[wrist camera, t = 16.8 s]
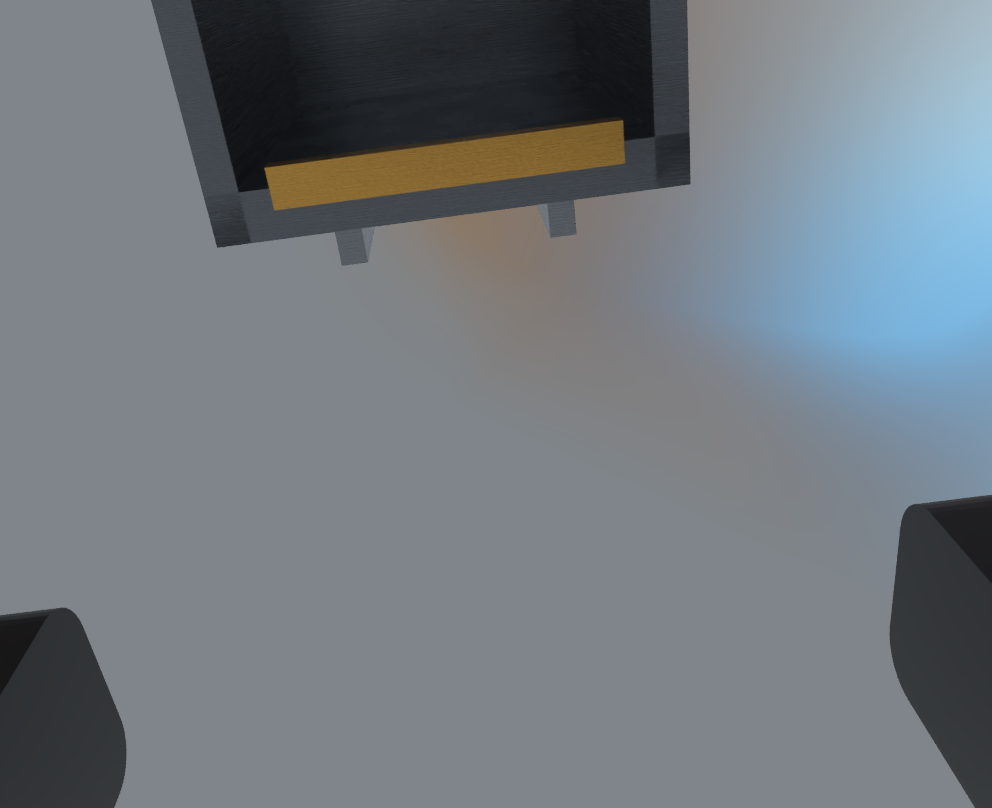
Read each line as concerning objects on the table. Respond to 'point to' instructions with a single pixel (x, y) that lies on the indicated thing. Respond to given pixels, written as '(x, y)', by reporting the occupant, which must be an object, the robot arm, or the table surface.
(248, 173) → the rack
